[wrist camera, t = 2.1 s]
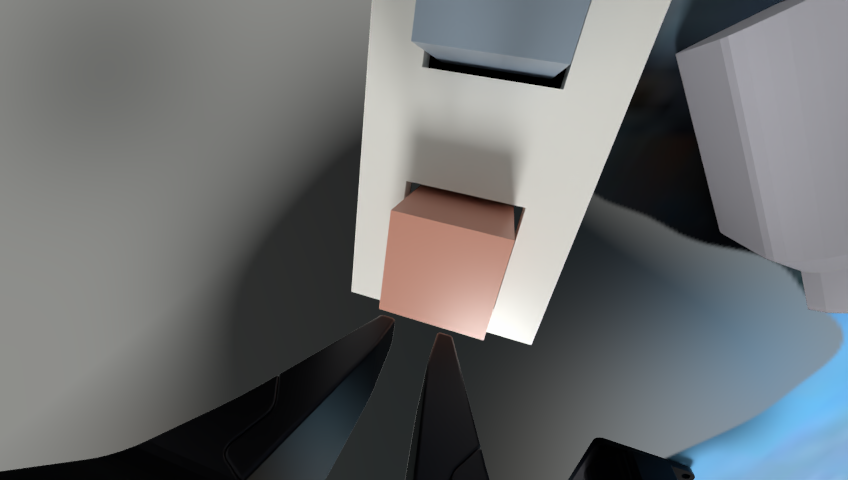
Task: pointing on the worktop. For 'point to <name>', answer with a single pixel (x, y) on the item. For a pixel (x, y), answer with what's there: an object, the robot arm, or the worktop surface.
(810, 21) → the charger
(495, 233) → the brick key
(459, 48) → the slate key
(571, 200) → the key console
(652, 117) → the worktop surface
